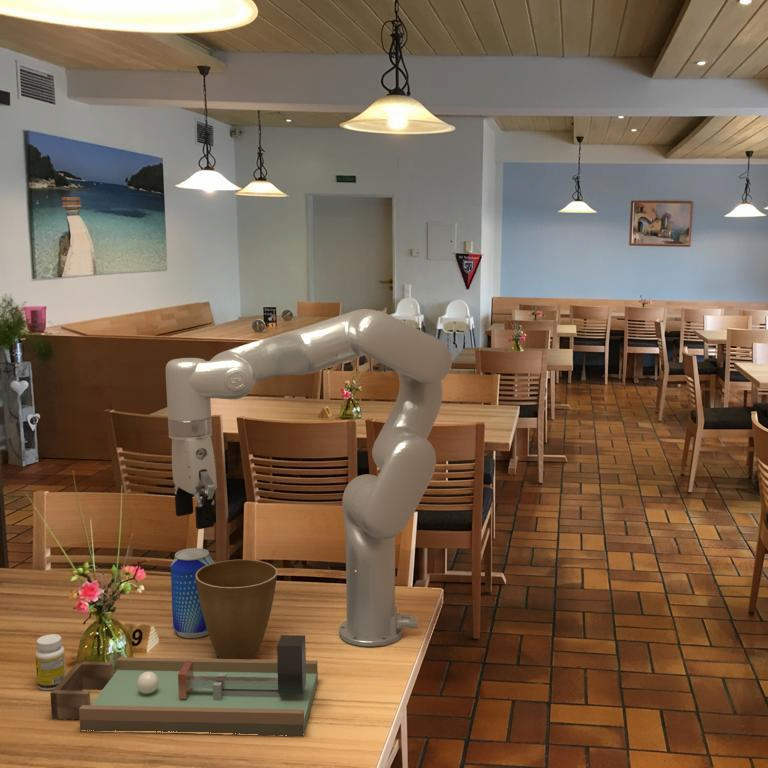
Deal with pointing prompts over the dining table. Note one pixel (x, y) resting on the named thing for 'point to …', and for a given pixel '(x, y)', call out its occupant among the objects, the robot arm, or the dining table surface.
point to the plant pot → (236, 605)
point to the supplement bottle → (50, 661)
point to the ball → (147, 682)
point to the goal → (78, 688)
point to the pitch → (199, 700)
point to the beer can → (188, 592)
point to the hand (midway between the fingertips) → (194, 521)
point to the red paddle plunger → (288, 680)
